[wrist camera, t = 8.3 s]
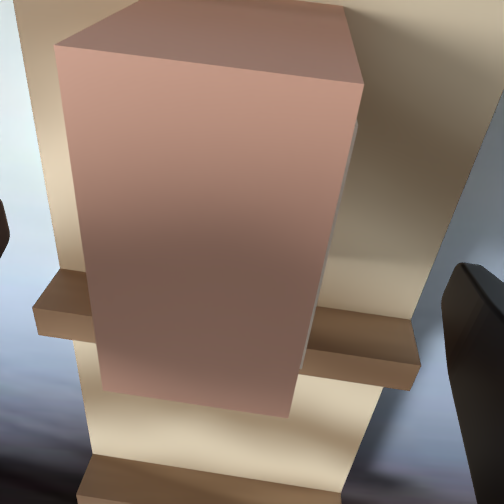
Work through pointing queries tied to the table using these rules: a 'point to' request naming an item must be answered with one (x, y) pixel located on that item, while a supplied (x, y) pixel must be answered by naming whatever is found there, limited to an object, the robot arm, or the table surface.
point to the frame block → (208, 189)
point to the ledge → (335, 275)
